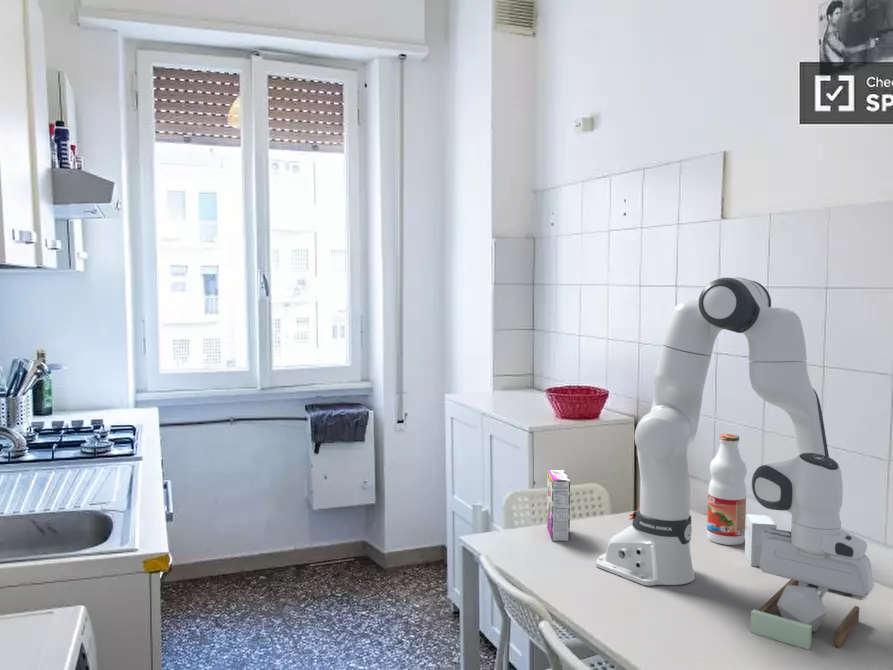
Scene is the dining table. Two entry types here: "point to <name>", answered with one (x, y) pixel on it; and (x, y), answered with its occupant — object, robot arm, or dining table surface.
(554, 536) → the candy bar box
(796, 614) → the die
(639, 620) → the dining table surface
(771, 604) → the lane walls
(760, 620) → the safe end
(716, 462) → the fruit juice
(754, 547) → the small box
